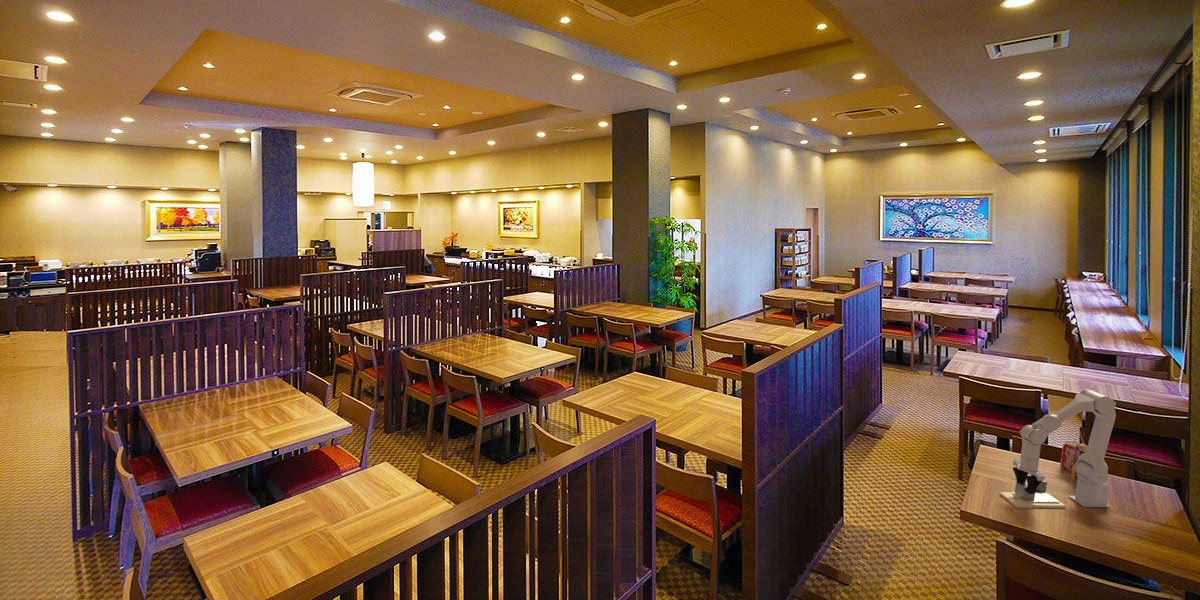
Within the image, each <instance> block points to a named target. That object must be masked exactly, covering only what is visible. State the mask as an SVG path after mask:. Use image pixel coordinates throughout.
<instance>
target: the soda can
mask: <svg viewBox="0 0 1200 600" xmlns="http://www.w3.org/2000/svg"><path fill="white" fill-rule="evenodd" d="M1077 444H1080V443H1079V442H1076V441H1069V440H1068V441H1065V442H1064V444H1063V445H1062V449H1061V457H1060V468H1062V470H1064V472H1065V471H1066V472H1069V473H1072V468H1073V461H1074V454H1075V447H1076V445H1077Z"/></svg>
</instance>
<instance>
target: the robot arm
mask: <svg viewBox="0 0 1200 600" xmlns="http://www.w3.org/2000/svg"><path fill="white" fill-rule="evenodd" d="M1116 405H1117V402H1115V400H1113V398H1111V397H1110V396H1107V395H1104V394H1103V393H1100V392H1096V391H1094V390H1093V389H1091V388H1086V389H1085V388H1084V389H1083V390H1081V391H1080V392H1078V393H1076V394H1075V397H1074V399H1073V400H1072V401H1070V402H1069V403H1067V404H1066V405H1064V407H1062V408H1061V409H1059V410H1058V411H1057V412H1055V413H1054V414H1052V413H1051V414H1050V413H1048V414H1044V415H1043V416H1042V418H1040V419H1039V420H1037V421H1034V422H1033V423H1032V424H1027V425H1025V426H1023V427H1022V428H1021V430H1019V435H1020V437H1021V442H1022V444H1021V450H1020V459H1013V460H1012V464H1013V465H1014V466H1015V467H1012V471H1013V474H1014V475H1015V479H1016V482H1027V492H1028V494H1034V493H1035V491H1036V489H1037V487H1038V486H1039V484H1040V483H1041V482H1042V481H1044V480H1045V477H1046V476H1045V475H1044V474H1042V473H1043V472H1041V471H1040V470H1039V463H1040V455H1041V454H1040V453H1041V447H1042V444H1043V443H1045V442H1046V440H1047V437H1049V435H1050V434H1052V433H1053V432H1055V431H1057V430H1058V429H1060V428H1062V425H1063V422H1064V421H1066V420H1068V419H1070V418H1072V417H1074V416H1076V415H1078V414H1079V413H1081V412H1086V413H1087V412H1089V413H1093V414H1094V415H1095V417H1094V420H1093V421H1094V422H1093V425H1092V429H1091V433H1090V436H1089V438H1088V439H1089V440H1088V444H1087V450H1086V453H1085V454H1084V455H1081V456H1079V459H1078V461H1077V462H1076V463H1075V465H1074V470H1075V472H1076V473H1077V477H1078V479H1077V481H1076V487H1075V494H1074V495H1068V497H1069V499H1071V500H1072V501H1074V502H1076V503H1078V504H1079V505H1080V506H1082V507H1084V508H1109V507H1110V505H1108V504H1109V503H1108V502H1109V496H1110V488H1109V485H1108V483H1107V482H1108V480H1109V473H1108V471H1109V466H1108V464H1107V463H1106V461H1105V456H1106V452H1107V449H1108V447H1109V442H1110V439H1111V435H1112V431H1113V428H1114V425H1115V421H1116V417H1117V413H1116Z"/></svg>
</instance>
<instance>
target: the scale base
mask: <svg viewBox="0 0 1200 600" xmlns="http://www.w3.org/2000/svg"><path fill="white" fill-rule="evenodd" d="M1012 492H1013V491H1011V492H1010V491H1009V492H1008V491H1007V492H1006V491H1005V492H1004V491H1001V492H999V495H1000V496H1001V497H1002V498H1004V499H1005V500H1007V501H1008V502H1009V503H1010V504H1012V505H1013V506H1014V507H1016V508H1024V509H1025V508H1032V509H1033V508H1035V509H1037V508H1038V509H1040V508H1041V509H1044V508H1045V509H1065V508H1066V505H1065V504H1064V503H1062V502H1061V501H1059V503H1024V502H1023V501H1022V500H1020V499H1019V498H1018V497H1016V496H1015V495H1013V494H1012ZM1046 493H1047V492H1046ZM1047 494H1049V493H1047ZM1049 495H1050V496H1052V495H1051V494H1049ZM1052 497H1053V496H1052ZM1053 498H1055V497H1053Z"/></svg>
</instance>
